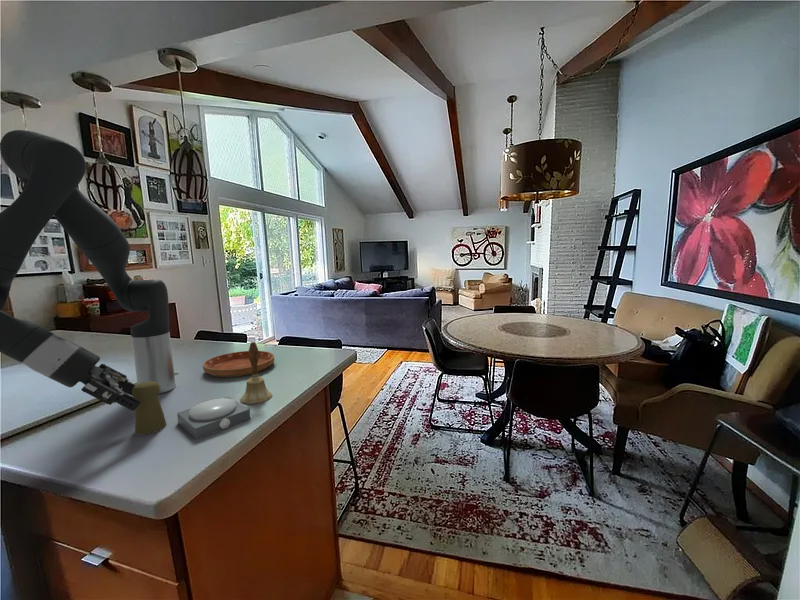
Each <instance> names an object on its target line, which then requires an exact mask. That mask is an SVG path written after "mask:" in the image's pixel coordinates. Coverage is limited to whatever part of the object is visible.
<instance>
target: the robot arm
mask: <svg viewBox="0 0 800 600" xmlns="http://www.w3.org/2000/svg"><path fill="white" fill-rule="evenodd" d="M0 155H1V157H2V160H3V162H4V163H5V164H6V166H7V167H8V169H9V170H10V171H11V172H12V173H13V174H14V175H15V177H17V178H18V179H19V180H20V181H21V182H22V183H23V184H24V185H25V186H24V189H23V190H22V191H21V192H20V194H19V195H18V197H17V198H16V199H15V200H14V201H13V202H12V203H11V204H10V205H8V207H6V208H5V209H4V210H2V211H1V212H0V353H1V354H2V355H5V356H7V357H8V358H11V359H13V360H15V361H17V362H19V363H20V364H22V365H25V366H26V367H28V368H29V369H31V370H32V371H34V372H36V373H39V374H40V375H42V376H44V377H47V378H49V379H50V380H53V381H55V382H57V383H59V384H61V385H63V386H65V387H67V388H74V387H75V386H76V385H77V384H78V383H82V384H83V385H84V386H83V387H82V388H81V391H82V392H83V393H85V394H87V395H89V396H91V397H93V398H96V399H97V400H99V401H101V402H103V403H105V404H107V405H110V406H111V405H112V404H118V405H120V406H122V407H124V408H126V409H128V410H130V411H136V408H137V407H138V406H139V405H140V400H138V399H136V398H134V397H133V395H132V390H133V388H134V386H136V385H137V384H139V383H143V382H148V381H154V382H157V383H158V384H159V386H160V392H159V394H164V393H166V392H170V391H172V390H173V389H175V388H176V375H175V367H174V360H173V351H172V343H171V335H170V334H171V332H170V311H169V310H170V308H169V292H168V288H167V286H166V284H165V282H164V281H163V280H162V279H133V278H132V277H131V276H129V274H128V273H127V271H126V267H127V263H128V260H129V256H130V251H131V247H130V244H129V241H128V239H127V237H126V236H125V235H124V232H122V230H121V228H120V227H119V225H118V224H117V223H116V221H115V220H113V218H111V216H109V215H108V214H107V213H106V212H105V211H104V210H103V209H101V207H100V206H98V205H97V204H96V203H95V202H93V201H92V200H91V199H90V198H88V197H87V196H86V195H85V194H84V193H83V192H82V191H81V190H80V189H79V187H78V186H79V185H80V183H81V182H82V180H83V179H84V177H85V173H86V171H87V162H86V160H85V159H86V158H85V157H84V155H83V153H82V152H81V151H80V149H78V148H77V147H76V146H75V145H73V144H71V143H69V142H68V141H65V140H62V139H58V138H56V137H54V136H53V137H52V136H49V135H45V134H43V133H39V132H36V131H31V130H24V129H15V130H11V131H10V130H9V131H8V132H6V133H5V134H4V135H3V136H2V138H1V140H0ZM53 217H54V218H55V220H56V221H57V222H58V223H59V225H60V226H61V227H62V229H64V231H65V232H66V233H67V234H68V236H69V237H70V238H71V240H72V241H73V243H74V244H75V245H76V246H77V248H78V249H79V251H81V252H82V254H83V255H84V256H85V257H86V259H88V260H89V261H90V263H91V264H92V265H93V267H94V268H95V269H96V270H97V271H98V273H99V274H100V276H101V277H102V279H103V280H104V281H105V283H106V284H107V286H108V287H109V289H110V291H111V293H112V294H113V296H114V297H115V299H116V301H117V302H118V303H119V305H120V306H121V307H122V308H123V309H124V310H125V311H128V312H132V313H133V312H136V313H138V312H139V313H140V312H141V313H142V312H149V315H148V318H147V319H145V320H144V321H142V322H138V323H135V324H133V325H132V326H131V327H130V338H131V346H132V352H133V360H134V367H135V375H136V383H137V384H135V383H133V382H131V381H130V380H129V379H128V378H127V377H128V376H127V375H125V374H123V373H121V372H120V371H117V370H116V369H114V368H112V367H110V366H109V365H106V364H105V363H101V364H99V365H98V366H97V364H98V363H99V362H100V361H101V357H100V356H99V355H97V354H95V353H93V352H92V351H89V350H88V349H86V348H85V347H83V346H81V345H80V344H77V343H75V342H74V341H71V340H69V339H68V338H65V337H62V336H61V335H58V334H56V333H54V332H53V331H50V330H49V329H46V328H45V327H43V326H41V325H39V324H37V323H35V322H33V321H31V320H27V319H21V318H17V317H14V316H12V315H10V314H8V313H7V312H4V309H5V306H6V304H7V300H8V298H9V295H10V292H11V288H12V284H13V280H14V279H16V276H17V274H18V272H19V271H20V269H21V267H22V265H23V263H24V262H25V259H26V257H27V256H28V254H29V252H30V250H31V248H32V246H33V245H34V242H35V241H36V239H37V238H38V236H39V235H40V233H41V232H42V231H43V229H44V228H45V227H46V225H47V224H48V223H49V222H50V221H51V219H52V218H53ZM159 394H158V395H159Z"/></svg>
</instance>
